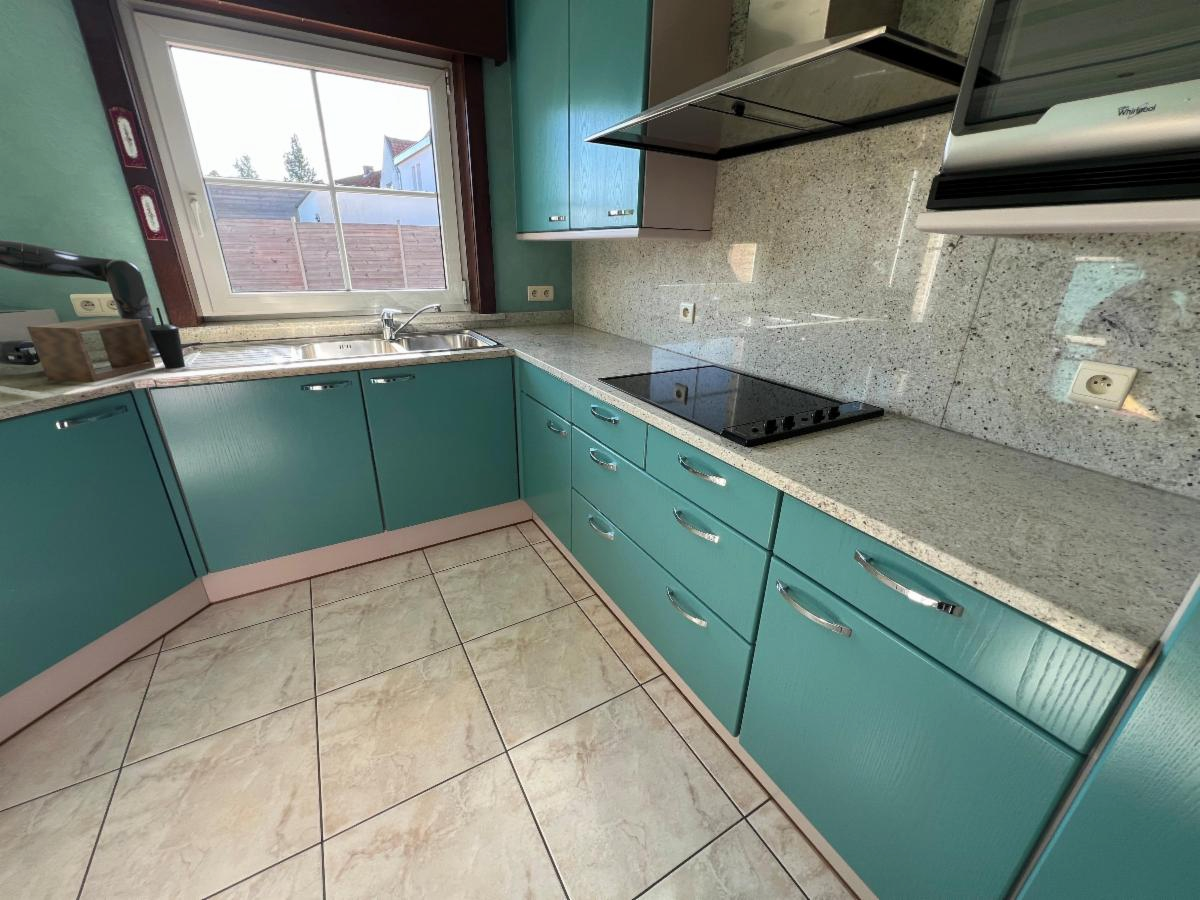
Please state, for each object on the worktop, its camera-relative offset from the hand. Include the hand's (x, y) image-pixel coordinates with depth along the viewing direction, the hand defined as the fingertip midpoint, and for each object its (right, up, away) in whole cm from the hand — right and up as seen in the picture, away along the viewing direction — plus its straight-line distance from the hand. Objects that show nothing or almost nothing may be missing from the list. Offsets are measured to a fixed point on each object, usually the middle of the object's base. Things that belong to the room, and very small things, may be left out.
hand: (65, 354), depth 150 cm
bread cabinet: (+10, -7, +2) cm, 12 cm away
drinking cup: (+23, -3, +12) cm, 26 cm away
